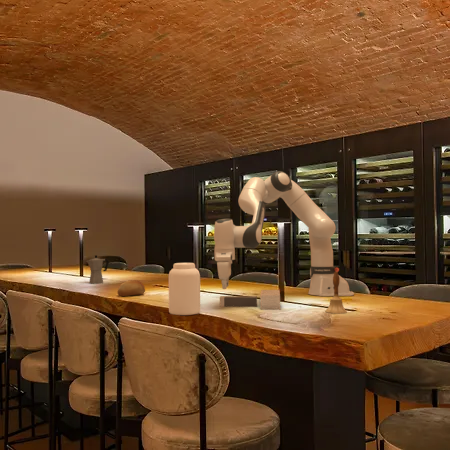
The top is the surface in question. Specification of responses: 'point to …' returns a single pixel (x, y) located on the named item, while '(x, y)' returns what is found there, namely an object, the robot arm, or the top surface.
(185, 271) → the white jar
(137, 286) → the bread roll
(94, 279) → the coffeepot
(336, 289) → the hand bell
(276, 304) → the block
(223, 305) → the plug bar
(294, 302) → the top surface
